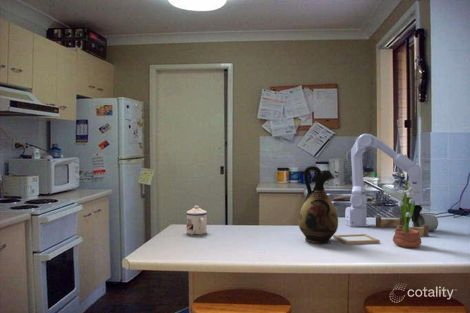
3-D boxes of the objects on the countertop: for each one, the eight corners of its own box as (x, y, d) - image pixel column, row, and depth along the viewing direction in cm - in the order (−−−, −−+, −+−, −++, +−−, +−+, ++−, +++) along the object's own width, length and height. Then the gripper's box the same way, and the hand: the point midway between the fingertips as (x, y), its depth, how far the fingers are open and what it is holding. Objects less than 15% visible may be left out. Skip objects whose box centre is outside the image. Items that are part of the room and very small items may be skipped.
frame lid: (346, 244, 146) (346, 241, 146) (333, 238, 157) (333, 235, 157) (379, 243, 149) (379, 240, 149) (364, 236, 160) (364, 233, 160)
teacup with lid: (183, 231, 168) (183, 205, 168) (202, 229, 173) (202, 203, 172) (192, 237, 158) (193, 209, 158) (213, 235, 162) (213, 207, 162)
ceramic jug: (342, 239, 155) (343, 165, 154) (331, 247, 142) (332, 167, 141) (302, 234, 164) (303, 164, 163) (288, 242, 150) (289, 165, 150)
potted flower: (426, 251, 138) (427, 181, 137) (396, 249, 140) (397, 181, 139) (417, 243, 150) (418, 179, 149) (390, 241, 152) (391, 178, 151)
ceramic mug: (439, 231, 170) (439, 214, 170) (424, 232, 168) (424, 215, 168) (421, 227, 180) (421, 211, 180) (407, 228, 178) (407, 211, 178)
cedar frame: (399, 236, 161) (399, 225, 160) (375, 226, 182) (375, 217, 182) (428, 236, 162) (428, 225, 162) (401, 226, 183) (401, 216, 183)
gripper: (404, 193, 167) (403, 224, 168) (435, 192, 169) (434, 223, 169) (395, 191, 174) (395, 221, 175) (426, 191, 176) (425, 220, 176)
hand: (414, 222), depth 172 cm, fingers closed
